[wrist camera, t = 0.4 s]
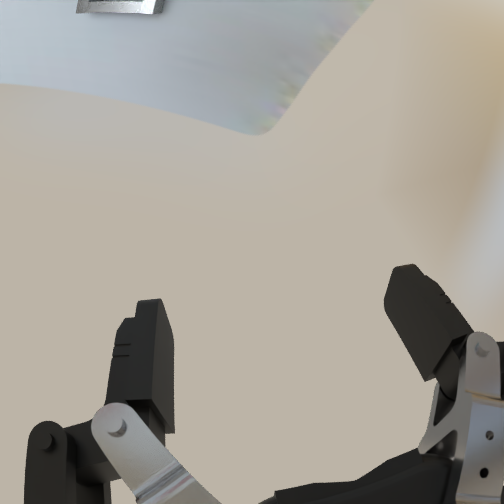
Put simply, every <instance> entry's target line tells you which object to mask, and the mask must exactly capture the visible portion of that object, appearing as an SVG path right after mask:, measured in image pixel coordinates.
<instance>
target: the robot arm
mask: <svg viewBox="0 0 504 504" xmlns="http://www.w3.org/2000/svg"><path fill="white" fill-rule="evenodd" d="M384 308H385V312H386V314H387V316H388V317H389V319H390V321H391V322H392V324H393V326H394V328H395V329H396V331H397V333H398V334H399V336H400V338H401V339H402V341H403V343H404V345H405V347H406V348H407V350H408V352H409V354H410V355H411V357H412V359H413V361H414V363H415V365H416V366H417V368H418V370H419V372H420V374H421V376H422V378H423V379H424V381H425V382H426V381H428V380H431V379H433V378H436V379H437V381H438V382H437V384H436V386H435V390H434V396H433V401H432V407H431V412H430V417H429V422H428V426H427V430H426V433H425V435H424V437H423V438H422V440H421V442H420V444H419V446H418V448H416V449H414V450H411V451H409V452H406V453H404V454H402V455H399V456H397V457H394V458H392V459H389V460H387V461H385V462H384V463H382V464H381V465H379V466H378V467H377V468H375V469H373V470H372V471H370V472H369V473H367V474H366V475H364V476H362V477H361V478H359V479H357V480H355V481H349V482H332V483H312V484H307V485H303V486H298V487H294V488H288V489H283V490H278V491H275V493H274V496H273V497H271V498H268V499H266V500H264V501H262V502H261V503H259V504H504V486H503V481H504V342H496V341H495V340H494V339H493V338H492V337H491V336H489V335H488V334H486V333H484V332H474V331H473V330H472V328H471V327H470V325H469V324H468V323H467V321H466V320H465V318H464V317H463V316H462V315H461V313H460V312H459V310H458V309H457V308H456V307H455V305H454V304H453V303H451V300H450V298H449V297H448V296H447V295H445V292H444V291H443V290H442V288H441V287H440V286H439V285H438V283H436V282H435V281H433V280H432V279H431V278H429V277H428V276H427V275H424V274H423V273H422V272H421V271H420V269H419V268H418V267H417V266H416V265H415V264H409V265H403V266H397V267H395V268H394V269H393V271H392V274H391V277H390V281H389V284H388V288H387V291H386V294H385V297H384ZM114 345H115V347H114V349H113V354H112V356H113V358H112V360H111V367H110V373H109V380H108V387H107V394H106V400H105V404H104V406H103V407H102V408H100V409H99V410H98V411H97V412H96V414H95V415H94V417H93V419H91V420H89V421H87V422H84V423H81V424H77V425H74V426H70V427H66V428H62V427H61V426H60V425H59V424H57V423H55V422H53V421H44V422H41V423H39V424H38V425H36V426H35V427H34V428H33V429H32V431H31V433H30V435H29V439H28V446H27V457H26V468H25V485H24V504H111V489H110V481H113V480H117V479H121V478H122V479H123V481H124V482H125V483H126V484H127V486H128V487H129V488H130V490H131V491H132V492H133V494H134V495H135V497H136V503H137V504H221V503H220V502H219V501H218V500H217V499H216V498H215V497H213V496H212V495H211V494H210V493H209V492H208V491H207V490H206V489H205V488H204V487H203V486H202V485H201V484H200V483H199V482H198V481H197V480H196V479H195V478H194V477H193V476H191V474H189V472H188V471H187V470H186V469H185V468H184V467H183V466H182V465H181V464H180V463H179V462H178V461H177V460H176V459H175V458H174V457H173V455H172V454H171V453H170V452H169V451H168V450H167V449H166V448H165V434H170V433H175V426H174V339H173V333H172V329H171V326H170V323H169V320H168V317H167V314H166V311H165V308H164V305H163V302H162V300H161V299H151V300H141V301H138V303H137V307H136V313H135V317H134V318H125V319H124V321H123V322H122V324H121V325H120V327H119V328H118V330H117V333H116V338H115V343H114Z"/></svg>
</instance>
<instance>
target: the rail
mask: <svg viewBox="0 0 504 504" xmlns="http://www.w3.org/2000/svg"><path fill="white" fill-rule="evenodd" d="M164 1H165V0H143V1H104V0H78V4H77V10H76V13H99V12H120V13H145V14H157V13H162V8H163V4H164Z"/></svg>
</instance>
